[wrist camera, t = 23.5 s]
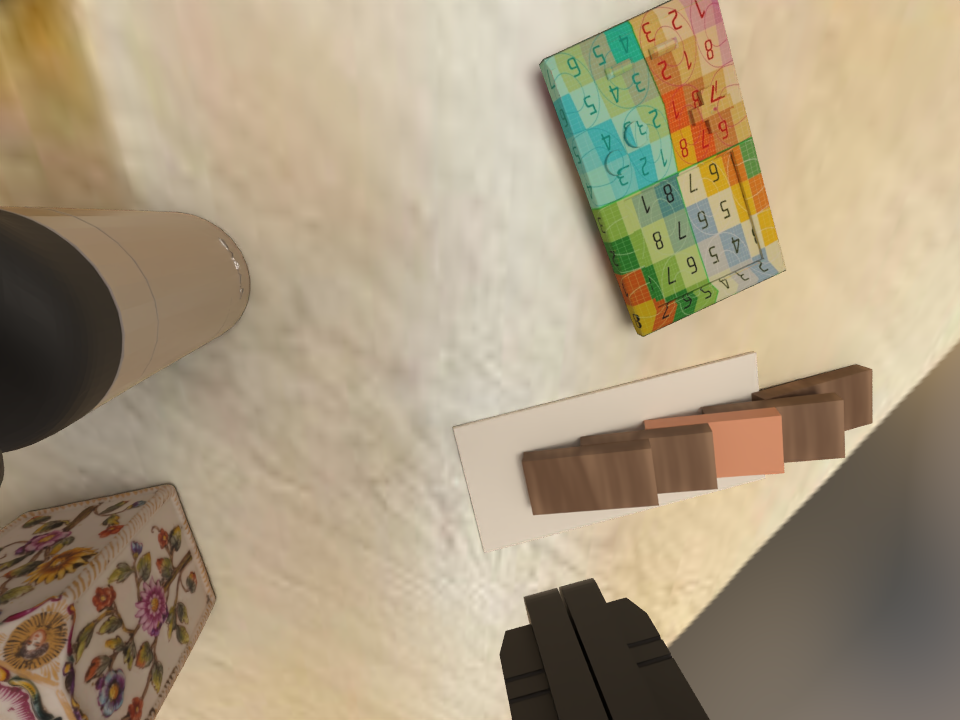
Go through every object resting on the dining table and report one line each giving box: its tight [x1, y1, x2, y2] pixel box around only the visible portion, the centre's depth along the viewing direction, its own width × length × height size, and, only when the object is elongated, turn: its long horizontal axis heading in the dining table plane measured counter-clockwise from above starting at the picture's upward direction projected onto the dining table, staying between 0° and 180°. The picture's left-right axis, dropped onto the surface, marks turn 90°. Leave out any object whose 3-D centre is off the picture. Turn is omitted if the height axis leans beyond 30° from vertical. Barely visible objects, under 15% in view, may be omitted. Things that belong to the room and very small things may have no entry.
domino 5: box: [751, 364, 872, 431], centre depth 45 cm, size 2×5×10 cm
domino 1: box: [522, 439, 659, 515], centre depth 42 cm, size 2×5×10 cm
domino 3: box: [644, 407, 784, 478], centre depth 43 cm, size 2×5×10 cm
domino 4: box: [701, 392, 845, 463], centre depth 43 cm, size 2×5×10 cm
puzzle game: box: [539, 0, 786, 337], centre depth 38 cm, size 12×5×20 cm
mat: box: [453, 351, 765, 553], centre depth 45 cm, size 26×12×1 cm, turn 102°
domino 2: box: [580, 423, 718, 494], centre depth 43 cm, size 2×5×10 cm
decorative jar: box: [0, 485, 216, 720], centre depth 34 cm, size 12×12×18 cm
